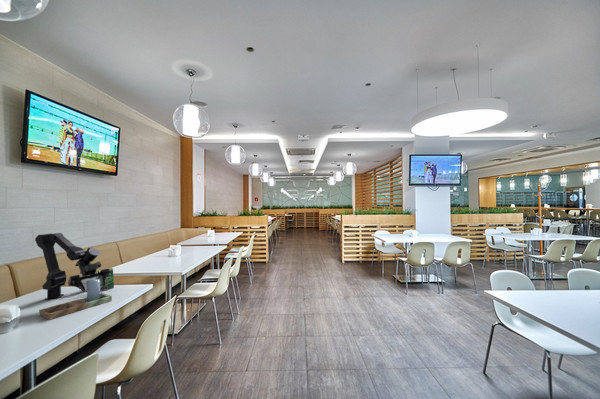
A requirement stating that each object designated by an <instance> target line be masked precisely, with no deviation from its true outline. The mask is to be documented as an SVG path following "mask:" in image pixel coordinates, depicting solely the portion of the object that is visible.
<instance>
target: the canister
mask: <svg viewBox="0 0 600 399" xmlns="http://www.w3.org/2000/svg"><path fill="white" fill-rule="evenodd" d="M100 293H101V291H100V279H98V278H97V279H93V280H89V281H87V291H86V297H87V303H88V302H91V301H95V300H98V299H102V298H101V295H100Z"/></svg>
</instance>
